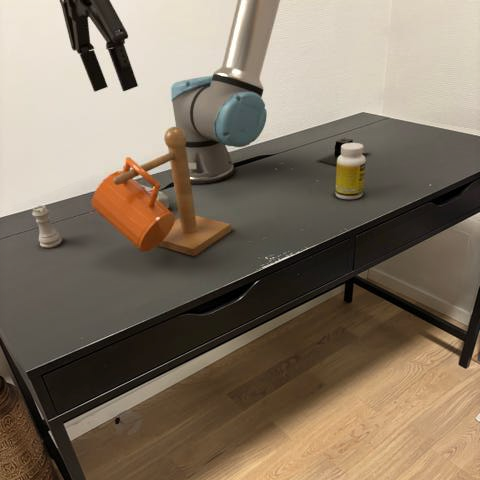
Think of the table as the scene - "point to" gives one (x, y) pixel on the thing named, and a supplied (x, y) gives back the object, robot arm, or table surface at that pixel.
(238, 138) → the robot arm
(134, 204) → the orange mug
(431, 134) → the table surface
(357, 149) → the pill bottle
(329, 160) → the black angular block
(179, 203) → the cup rack
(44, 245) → the rook chess piece
